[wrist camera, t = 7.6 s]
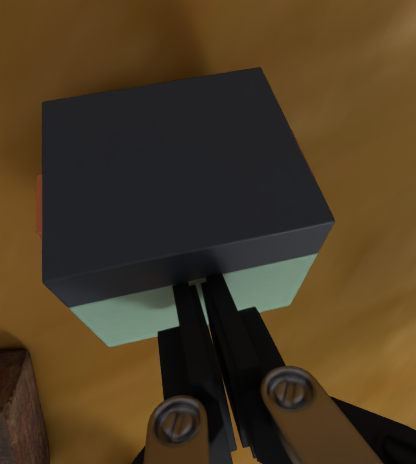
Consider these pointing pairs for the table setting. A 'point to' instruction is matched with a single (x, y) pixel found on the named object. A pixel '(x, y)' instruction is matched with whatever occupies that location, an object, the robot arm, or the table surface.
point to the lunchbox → (174, 201)
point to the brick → (20, 412)
